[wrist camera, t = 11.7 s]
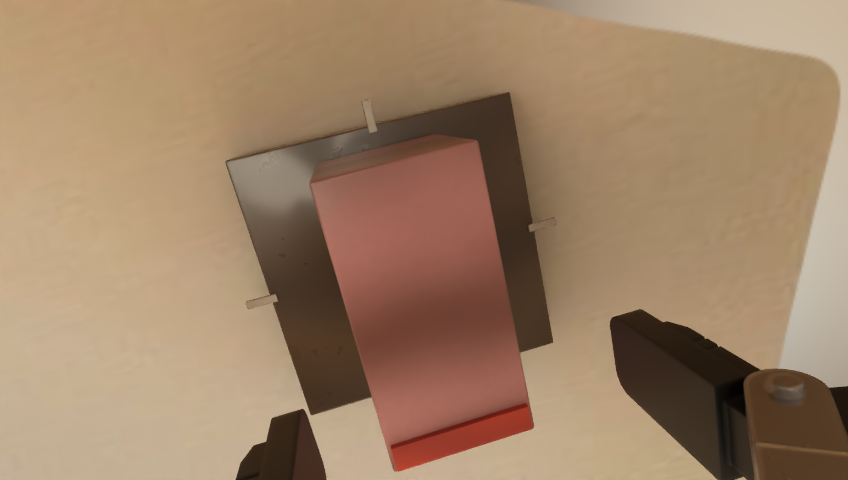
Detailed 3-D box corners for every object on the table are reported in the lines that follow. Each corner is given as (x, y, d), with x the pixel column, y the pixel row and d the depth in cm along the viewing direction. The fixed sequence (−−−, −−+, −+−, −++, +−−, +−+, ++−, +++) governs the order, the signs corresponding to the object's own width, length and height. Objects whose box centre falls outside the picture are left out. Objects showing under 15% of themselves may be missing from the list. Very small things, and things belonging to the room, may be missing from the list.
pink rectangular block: (317, 162, 22) (307, 183, 15) (436, 133, 22) (480, 139, 16) (378, 377, 25) (395, 478, 18) (482, 346, 25) (537, 432, 18)
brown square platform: (202, 139, 23) (188, 141, 21) (513, 66, 24) (530, 61, 22) (298, 418, 27) (295, 443, 25) (560, 339, 28) (577, 356, 26)
